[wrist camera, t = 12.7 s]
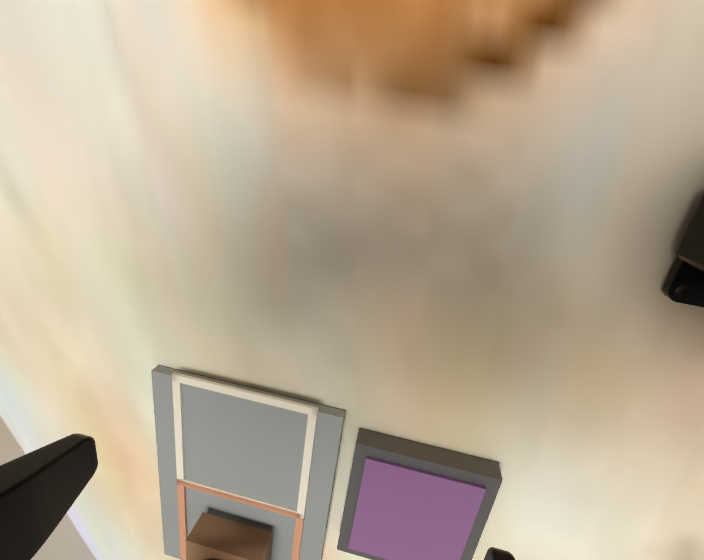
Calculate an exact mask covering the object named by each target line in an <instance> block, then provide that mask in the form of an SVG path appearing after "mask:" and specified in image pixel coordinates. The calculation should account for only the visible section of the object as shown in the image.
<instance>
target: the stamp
mask: <svg viewBox="0 0 704 560" xmlns="http://www.w3.org/2000/svg"><path fill="white" fill-rule="evenodd" d="M271 531H272V526H269V525H266V524H262V523H259V522H255V521H252V520H248V519H245V518H242V517H238V516H235V515H231V514H228V513H224V512H221V511H217V510H214V509H211V508H209V510H208V511H207V513H205V512H202V514H201V516H200V517H199V519H198V521H197V522H196V524H195V526H194V527H193V529H192V531H191V532H190V534H189V535H188V537H187V539H186V560H270V550H271V539H272V532H271Z"/></svg>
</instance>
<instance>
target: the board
mask: <svg viewBox="0 0 704 560" xmlns="http://www.w3.org/2000/svg"><path fill="white" fill-rule="evenodd" d="M152 385H153V399H154V413H155V427H156V441H157V455H158V468H159V482H160V496H161V510H162V524H163V538H164V552H165V554H166V555H170V556H173V557H176V558H179V559H181V560H186V539H187V537H188V535H189V534H190V532H191V531H192V529H193V527H194V526H195V524H196V522H197V521H198V519H199V517H200V516H201V514H202V512H205V513H207V511H208V510H209V508H211V509H214V510H217V511H221V512H224V513H228V514H231V515H235V516H238V517H242V518H245V519H248V520H252V521H255V522H259V523H262V524H266V525H269V526H272V531H271V532H272V539H271V550H270V560H321V558H322V552H323V546H324V540H325V534H326V528H327V521H328V515H329V509H330V503H331V497H332V491H333V484H334V478H335V472H336V466H337V460H338V454H339V447H340V441H341V435H342V429H343V423H344V417H345V411H344V410H340V409H336V408H332V407H328V406H324V405H320V404H315V403H311V402H307V401H303V400H299V399H295V398H291V397H287V396H282V395H278V394H274V393H270V392H266V391H262V390H258V389H254V388H249V387H245V386H241V385H237V384H233V383H229V382H225V381H221V380H216V379H212V378H208V377H204V376H200V375H196V374H192V373H188V372H184V371H179V370H175V369H171V368H167V367H163V366H159V365H158V366H157V367H155V368H154V369H153V370H152Z"/></svg>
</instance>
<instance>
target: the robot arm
mask: <svg viewBox="0 0 704 560" xmlns="http://www.w3.org/2000/svg"><path fill="white" fill-rule="evenodd" d="M677 254H678V257H677V259H676V261H675V263H674V265H673V267H672V269H671V272H670V274H669V276H668V278H667V280H666V282H665V284H664V287H663V293H664V295H665V296H666V297H668V298H669V299H671V300H672V301H675V302H679V303H684V304H689V305H695V306H700V307H704V197H703V199H702V201H701V203H700V205H699V207H698V209H697V211H696V214H695V216H694V218H693V220H692V222H691V224H690V226H689V228H688V230H687V232H686V235H685V237H684V239H683V241H682V243H681V245H680V247H679V249H678V251H677ZM680 286H683V290H682V291H681V292H679V293H675V290H676V289H677V288H678V287H680ZM97 465H98V459H97V452H96V446H95V441H94V439H93V438H92V437H90V436H86V435H83V434H72V435H69V436H67V437H65V438H63V439H60V440H58V441H56V442H53V443H51V444H49V445H46V446H44V447H42V448H40V449H37V450H35V451H33V452H30V453H28V454H26V455H23V456H21V457H19V458H17V459H14V460H12V461H10V462H7V463H5V464H3V465H1V466H0V560H30V559H32V557H33V556H34V555H35V554H36V553H37V551H38V550H39V549H40V548H41V546H42V545H43V544H44V542H45V541H46V540H47V539H48V537H49V536H50V535H51V533H52V532H53V531H54V529H55V528H56V527H57V525H58V524H59V522H60V521H61V520H62V518H63V517H64V515H65V514H66V513H67V511H68V510H69V508H70V507H71V506H72V504H73V503H74V501H75V500H76V499H77V497H78V496H79V494H80V493H81V492H82V490H83V489H84V487H85V486H86V485H87V483H88V482H89V480H90V479H91V478H92V476H93V475H94V473H95V471H96V469H97ZM484 560H515V558H514V557H513V555H512V554H511V553H510V552H508V551H505V550H501V549H497V548H494V547H491V548H489V549H488V551H487V553H486V556H485V558H484Z"/></svg>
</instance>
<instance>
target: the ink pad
mask: <svg viewBox="0 0 704 560" xmlns="http://www.w3.org/2000/svg"><path fill="white" fill-rule="evenodd" d="M501 483H502V476H501V471H500V467H499V463H498V462H494V461H490V460H486V459H482V458H478V457H474V456H470V455H466V454H462V453H458V452H454V451H450V450H446V449H442V448H438V447H434V446H429V445H425V444H421V443H417V442H413V441H409V440H405V439H401V438H397V437H393V436H389V435H385V434H381V433H377V432H373V431H369V430H365V429H361V428H360V429H359V433H358V438H357V442H356V447H355V452H354V458H353V463H352V469H351V474H350V480H349V485H348V491H347V496H346V502H345V507H344V513H343V518H342V524H341V529H340V535H339V540H338V546H337V549H338V550H341V551H344V552H348V553H351V554H355V555H358V556H362V557H365V558H369V559H372V560H472V558H473V555H474V552H475V550H476V547H477V545H478V542H479V539H480V537H481V534H482V532H483V529H484V527H485V524H486V521H487V519H488V516H489V514H490V511H491V508H492V506H493V503H494V501H495V498H496V496H497V493H498V490H499V488H500V485H501Z"/></svg>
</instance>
